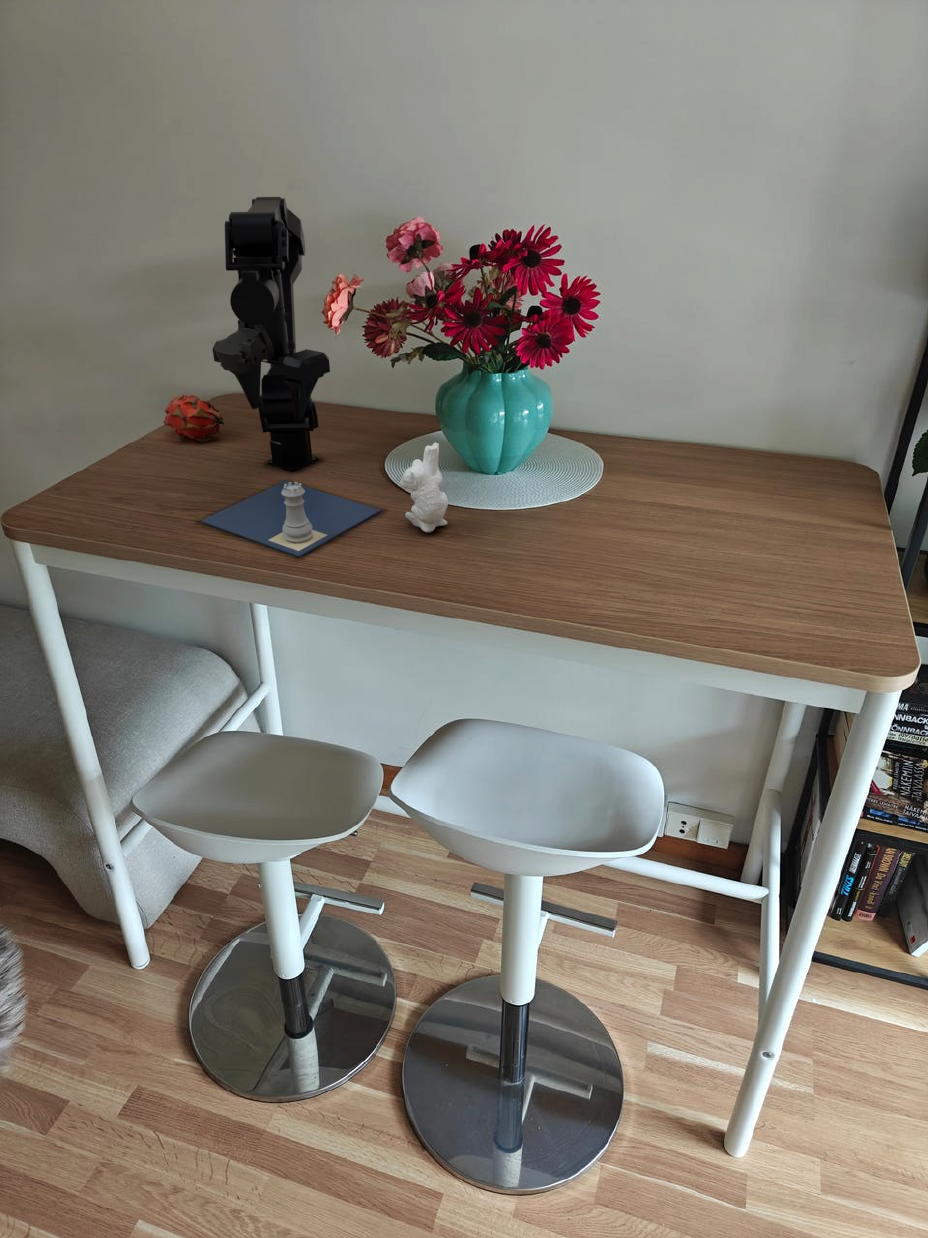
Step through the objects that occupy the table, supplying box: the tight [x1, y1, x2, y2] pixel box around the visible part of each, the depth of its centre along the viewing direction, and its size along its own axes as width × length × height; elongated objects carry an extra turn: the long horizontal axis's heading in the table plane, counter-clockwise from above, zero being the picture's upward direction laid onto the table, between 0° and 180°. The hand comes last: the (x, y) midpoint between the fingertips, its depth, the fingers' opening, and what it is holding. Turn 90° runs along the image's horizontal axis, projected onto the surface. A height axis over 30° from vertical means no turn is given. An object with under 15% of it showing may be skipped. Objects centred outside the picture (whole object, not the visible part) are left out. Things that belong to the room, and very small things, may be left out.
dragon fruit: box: [162, 393, 225, 442], centre depth 160 cm, size 8×8×12 cm
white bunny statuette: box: [399, 442, 449, 533], centre depth 127 cm, size 8×7×12 cm
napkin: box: [200, 480, 382, 558], centre depth 133 cm, size 18×20×1 cm
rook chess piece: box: [281, 481, 313, 543], centre depth 125 cm, size 4×4×8 cm
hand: (276, 413), depth 134 cm, fingers open, 9 cm apart
